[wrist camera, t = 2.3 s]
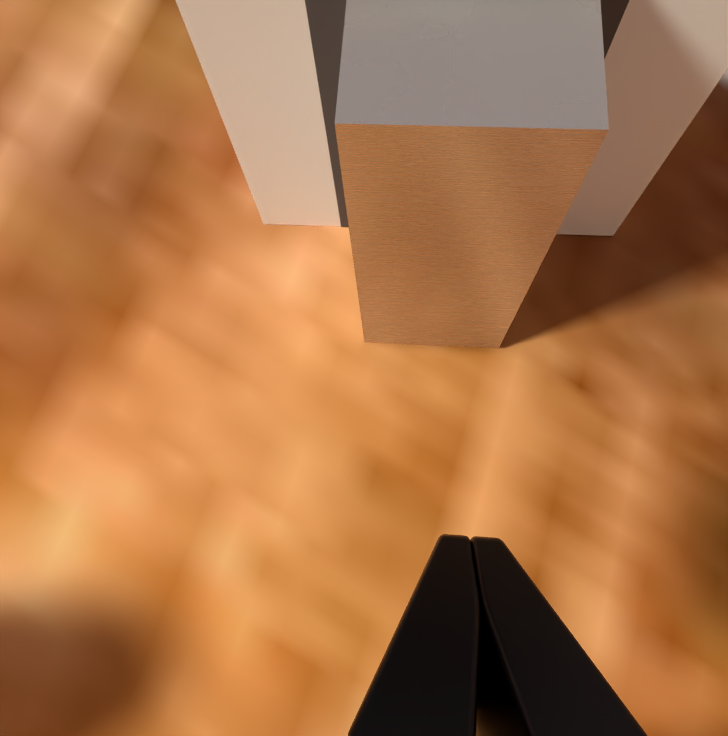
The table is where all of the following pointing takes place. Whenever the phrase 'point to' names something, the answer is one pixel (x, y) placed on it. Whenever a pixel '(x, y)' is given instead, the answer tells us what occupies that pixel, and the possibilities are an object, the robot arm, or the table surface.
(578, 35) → the light grey rectangular block
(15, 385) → the table surface
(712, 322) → the table surface
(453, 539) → the robot arm
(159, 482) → the table surface
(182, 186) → the table surface
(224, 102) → the housing
